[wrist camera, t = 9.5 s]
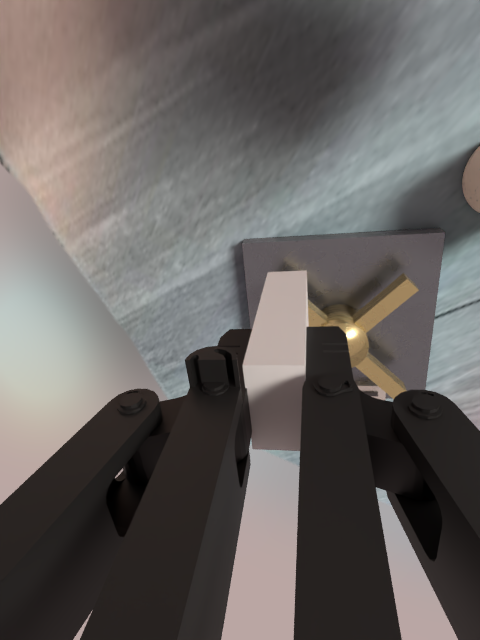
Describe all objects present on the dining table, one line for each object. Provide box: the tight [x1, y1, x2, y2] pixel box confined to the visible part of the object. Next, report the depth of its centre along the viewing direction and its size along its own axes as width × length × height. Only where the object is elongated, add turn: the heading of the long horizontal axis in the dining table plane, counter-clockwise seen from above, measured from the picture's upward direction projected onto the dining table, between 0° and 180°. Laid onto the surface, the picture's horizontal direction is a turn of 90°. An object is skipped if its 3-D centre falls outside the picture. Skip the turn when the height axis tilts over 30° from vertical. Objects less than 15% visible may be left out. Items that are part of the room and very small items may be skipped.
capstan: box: [308, 273, 419, 399], centre depth 46 cm, size 20×20×6 cm
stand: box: [242, 228, 445, 400], centre depth 49 cm, size 22×22×4 cm
